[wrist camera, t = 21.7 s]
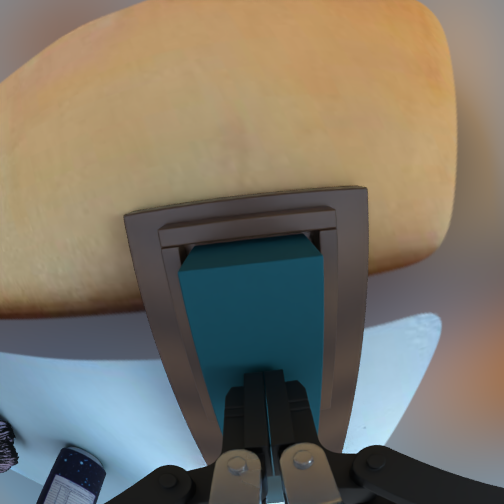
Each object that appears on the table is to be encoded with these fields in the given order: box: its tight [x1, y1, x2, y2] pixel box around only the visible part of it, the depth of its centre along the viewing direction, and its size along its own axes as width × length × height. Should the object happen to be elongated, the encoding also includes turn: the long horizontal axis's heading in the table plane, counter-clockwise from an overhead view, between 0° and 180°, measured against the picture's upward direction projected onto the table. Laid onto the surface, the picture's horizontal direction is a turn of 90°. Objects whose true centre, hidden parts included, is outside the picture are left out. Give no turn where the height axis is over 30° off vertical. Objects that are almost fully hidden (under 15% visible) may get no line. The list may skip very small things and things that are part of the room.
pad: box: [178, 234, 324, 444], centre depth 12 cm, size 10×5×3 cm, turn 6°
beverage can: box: [36, 447, 106, 504], centre depth 14 cm, size 6×6×12 cm
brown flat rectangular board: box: [123, 186, 369, 503], centre depth 14 cm, size 23×11×4 cm, turn 6°
